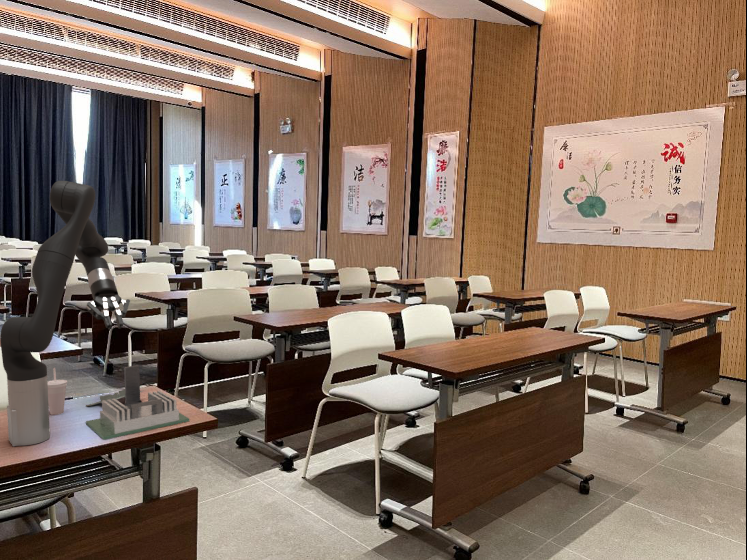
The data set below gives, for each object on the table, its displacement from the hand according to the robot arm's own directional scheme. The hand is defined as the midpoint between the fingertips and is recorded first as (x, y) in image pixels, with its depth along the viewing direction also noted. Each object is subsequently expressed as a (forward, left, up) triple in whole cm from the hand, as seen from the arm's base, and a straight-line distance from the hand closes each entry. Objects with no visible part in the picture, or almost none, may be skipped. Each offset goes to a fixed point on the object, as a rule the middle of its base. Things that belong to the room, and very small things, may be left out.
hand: (115, 327), depth 184 cm
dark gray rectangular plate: (0, -14, -21) cm, 25 cm away
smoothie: (-16, +7, -26) cm, 31 cm away
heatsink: (0, -18, -26) cm, 31 cm away
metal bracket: (+2, +6, -27) cm, 27 cm away
